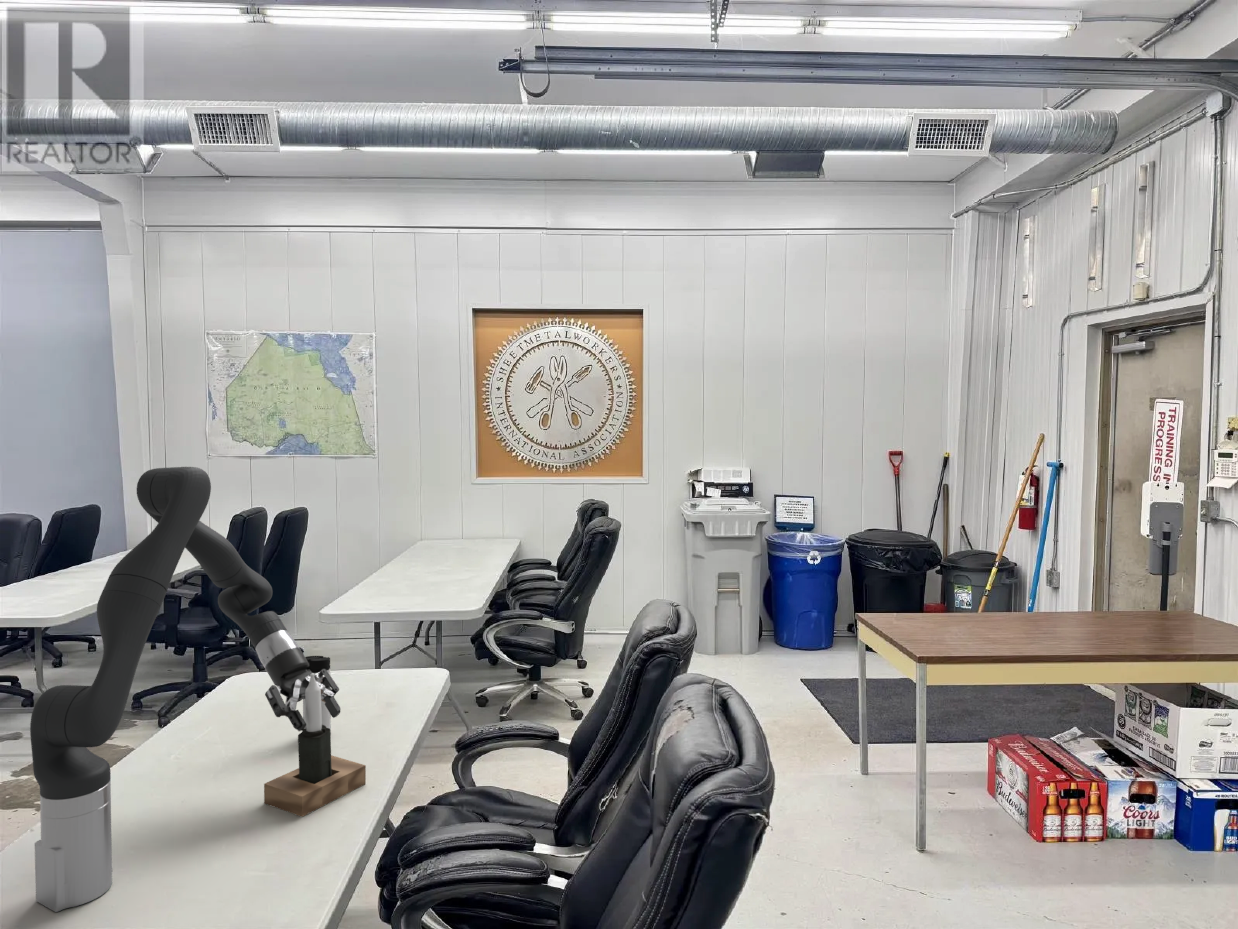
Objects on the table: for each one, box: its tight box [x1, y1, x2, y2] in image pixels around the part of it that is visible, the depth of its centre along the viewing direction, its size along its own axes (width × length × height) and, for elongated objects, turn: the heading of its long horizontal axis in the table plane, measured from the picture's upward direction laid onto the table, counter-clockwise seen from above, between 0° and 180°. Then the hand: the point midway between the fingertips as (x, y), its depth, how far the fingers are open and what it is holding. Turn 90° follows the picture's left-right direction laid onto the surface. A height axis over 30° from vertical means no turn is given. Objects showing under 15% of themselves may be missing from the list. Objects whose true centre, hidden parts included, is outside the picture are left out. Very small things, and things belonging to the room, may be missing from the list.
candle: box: [297, 673, 332, 784], centre depth 157 cm, size 5×5×25 cm
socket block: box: [263, 754, 367, 818], centre depth 158 cm, size 16×11×4 cm
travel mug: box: [302, 655, 332, 735], centre depth 186 cm, size 6×7×20 cm
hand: (320, 721), depth 157 cm, fingers open, 8 cm apart
